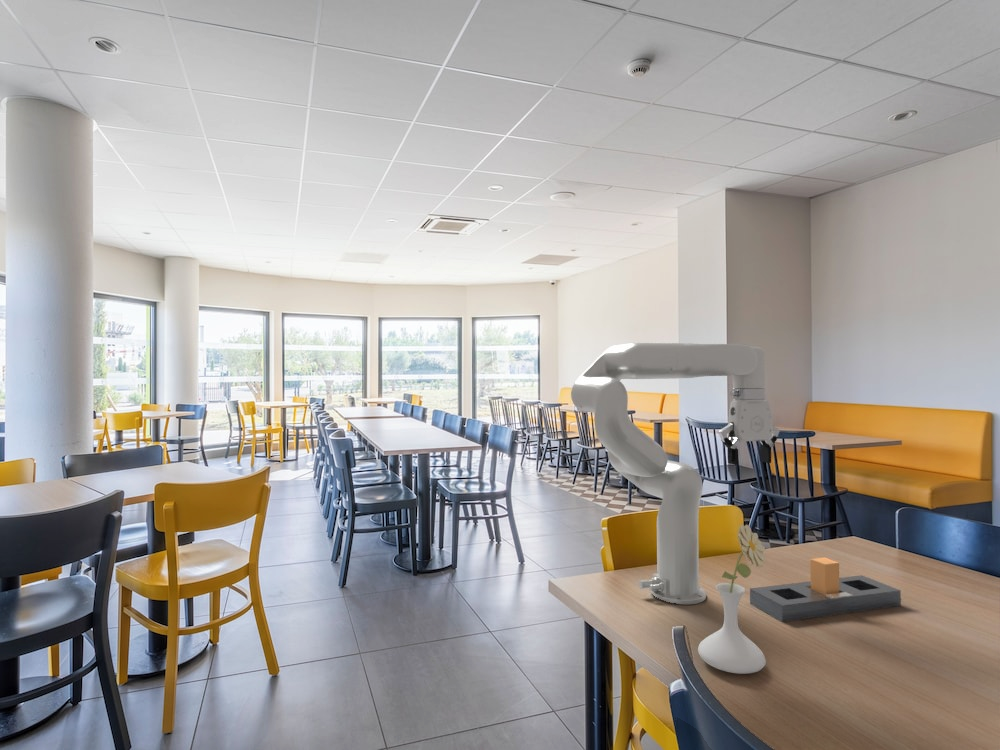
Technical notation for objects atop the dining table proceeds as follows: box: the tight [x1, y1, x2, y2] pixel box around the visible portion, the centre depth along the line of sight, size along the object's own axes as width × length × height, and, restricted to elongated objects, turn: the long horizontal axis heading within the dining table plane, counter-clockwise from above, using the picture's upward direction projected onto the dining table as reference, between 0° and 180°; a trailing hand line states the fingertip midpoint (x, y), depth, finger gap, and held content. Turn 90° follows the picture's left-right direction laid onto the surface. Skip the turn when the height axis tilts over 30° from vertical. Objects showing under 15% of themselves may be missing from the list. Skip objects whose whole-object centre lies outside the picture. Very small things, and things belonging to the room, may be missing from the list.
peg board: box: [749, 574, 902, 623], centre depth 127 cm, size 32×10×4 cm, turn 105°
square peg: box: [810, 556, 840, 595], centre depth 127 cm, size 4×4×10 cm
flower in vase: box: [697, 523, 768, 675], centre depth 101 cm, size 13×11×25 cm
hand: (749, 463), depth 141 cm, fingers open, 9 cm apart
